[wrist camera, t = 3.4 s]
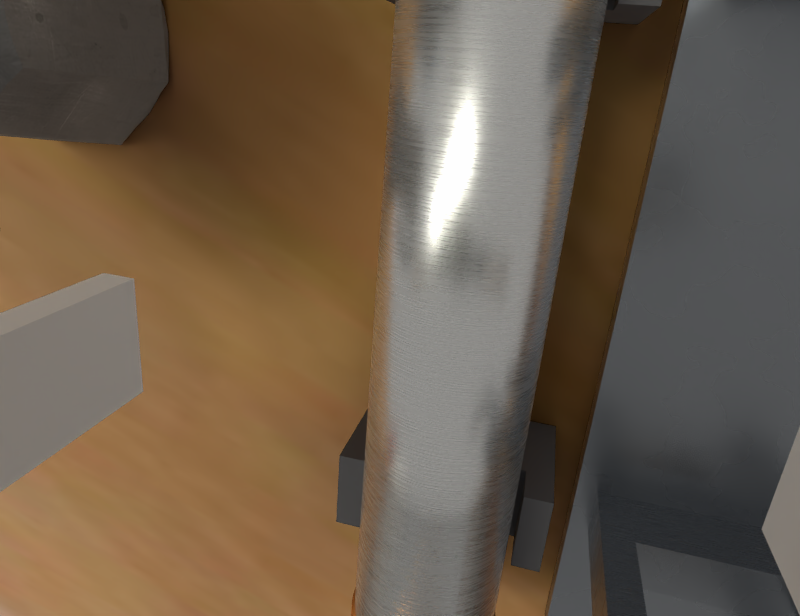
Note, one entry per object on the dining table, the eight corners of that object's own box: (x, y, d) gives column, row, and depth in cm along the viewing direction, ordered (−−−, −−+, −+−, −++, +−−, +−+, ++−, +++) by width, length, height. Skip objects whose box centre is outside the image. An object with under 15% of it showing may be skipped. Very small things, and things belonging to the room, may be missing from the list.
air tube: (442, -293, 15) (387, -465, 10) (663, -302, 14) (713, -501, 9) (373, 569, 25) (329, 680, 21) (496, 601, 24) (480, 726, 19)
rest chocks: (414, -93, 20) (369, -146, 15) (660, -86, 18) (692, -143, 13) (374, 448, 27) (336, 521, 23) (543, 485, 26) (539, 572, 21)
